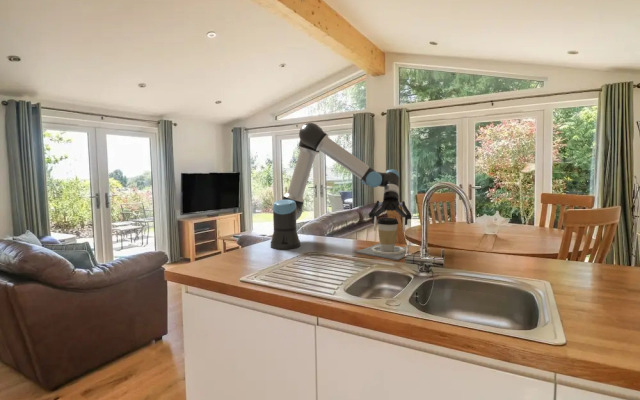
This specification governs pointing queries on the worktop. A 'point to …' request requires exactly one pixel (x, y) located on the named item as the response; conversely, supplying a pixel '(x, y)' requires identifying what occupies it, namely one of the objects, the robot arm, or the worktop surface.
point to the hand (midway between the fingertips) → (389, 229)
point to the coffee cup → (387, 233)
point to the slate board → (376, 251)
